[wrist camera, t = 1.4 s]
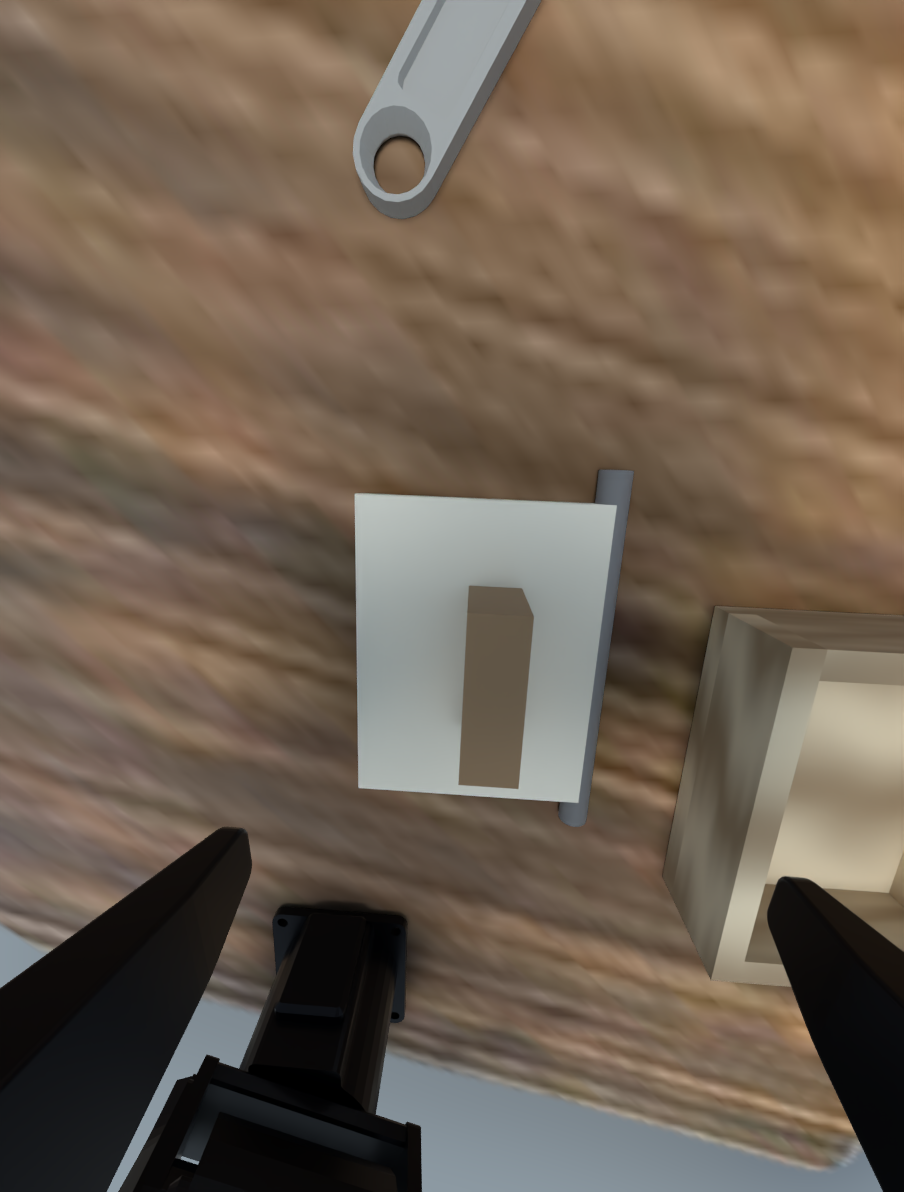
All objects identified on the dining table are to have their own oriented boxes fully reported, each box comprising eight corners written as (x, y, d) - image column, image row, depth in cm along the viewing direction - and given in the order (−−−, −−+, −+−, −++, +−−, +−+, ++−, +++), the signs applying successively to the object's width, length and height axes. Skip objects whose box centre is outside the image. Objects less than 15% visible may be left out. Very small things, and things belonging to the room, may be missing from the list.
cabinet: (720, 578, 18) (857, 635, 11) (1025, 593, 17) (1344, 661, 11) (658, 895, 21) (735, 1069, 15) (906, 914, 21) (1090, 1100, 15)
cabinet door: (362, 460, 17) (321, 454, 13) (627, 471, 17) (684, 469, 12) (365, 793, 21) (334, 881, 17) (582, 808, 21) (613, 903, 16)
